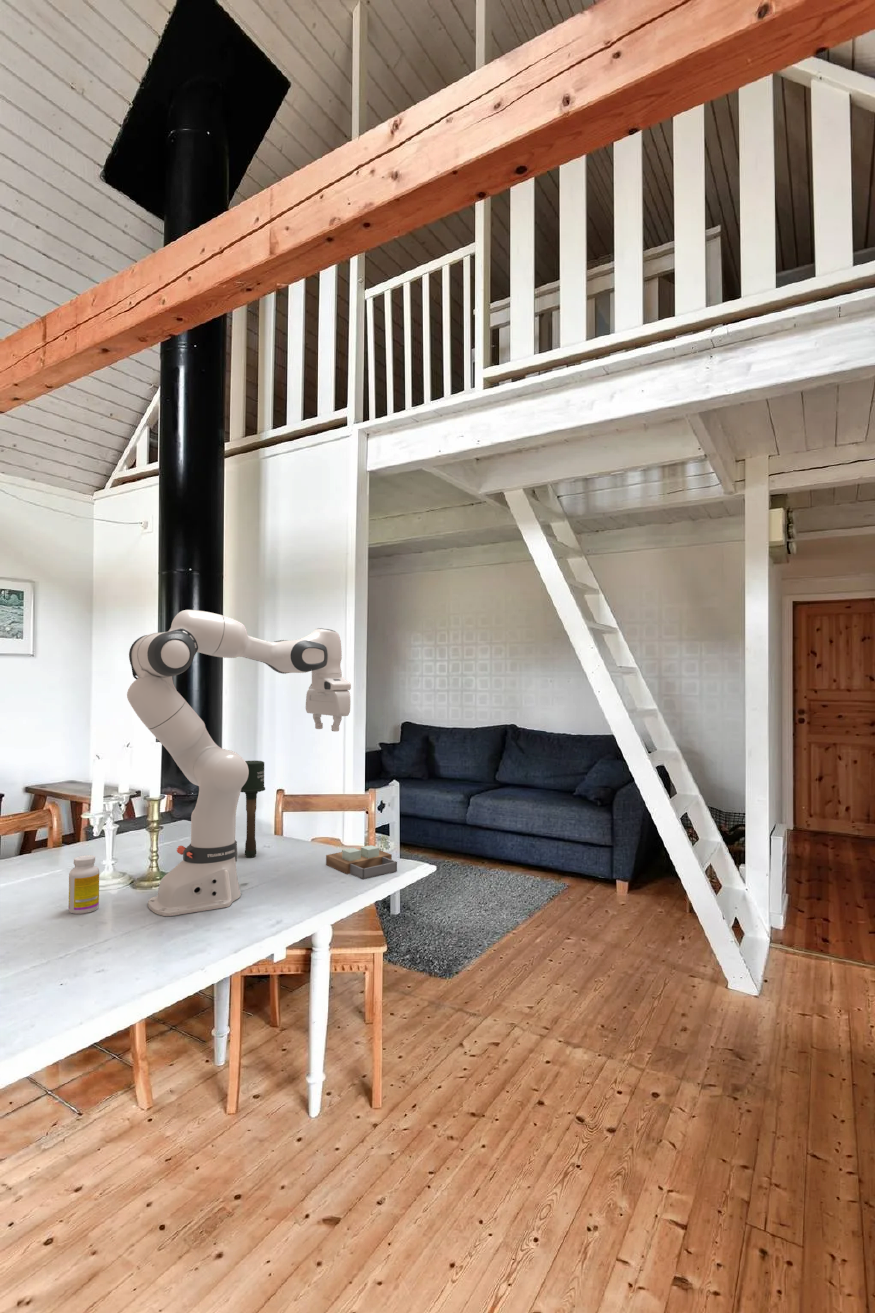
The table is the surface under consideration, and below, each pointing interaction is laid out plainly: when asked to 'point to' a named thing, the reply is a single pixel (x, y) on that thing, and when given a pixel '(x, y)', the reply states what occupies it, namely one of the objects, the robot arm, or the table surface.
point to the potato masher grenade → (252, 802)
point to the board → (354, 861)
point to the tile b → (369, 851)
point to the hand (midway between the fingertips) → (327, 730)
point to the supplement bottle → (84, 885)
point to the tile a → (351, 854)
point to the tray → (374, 869)
